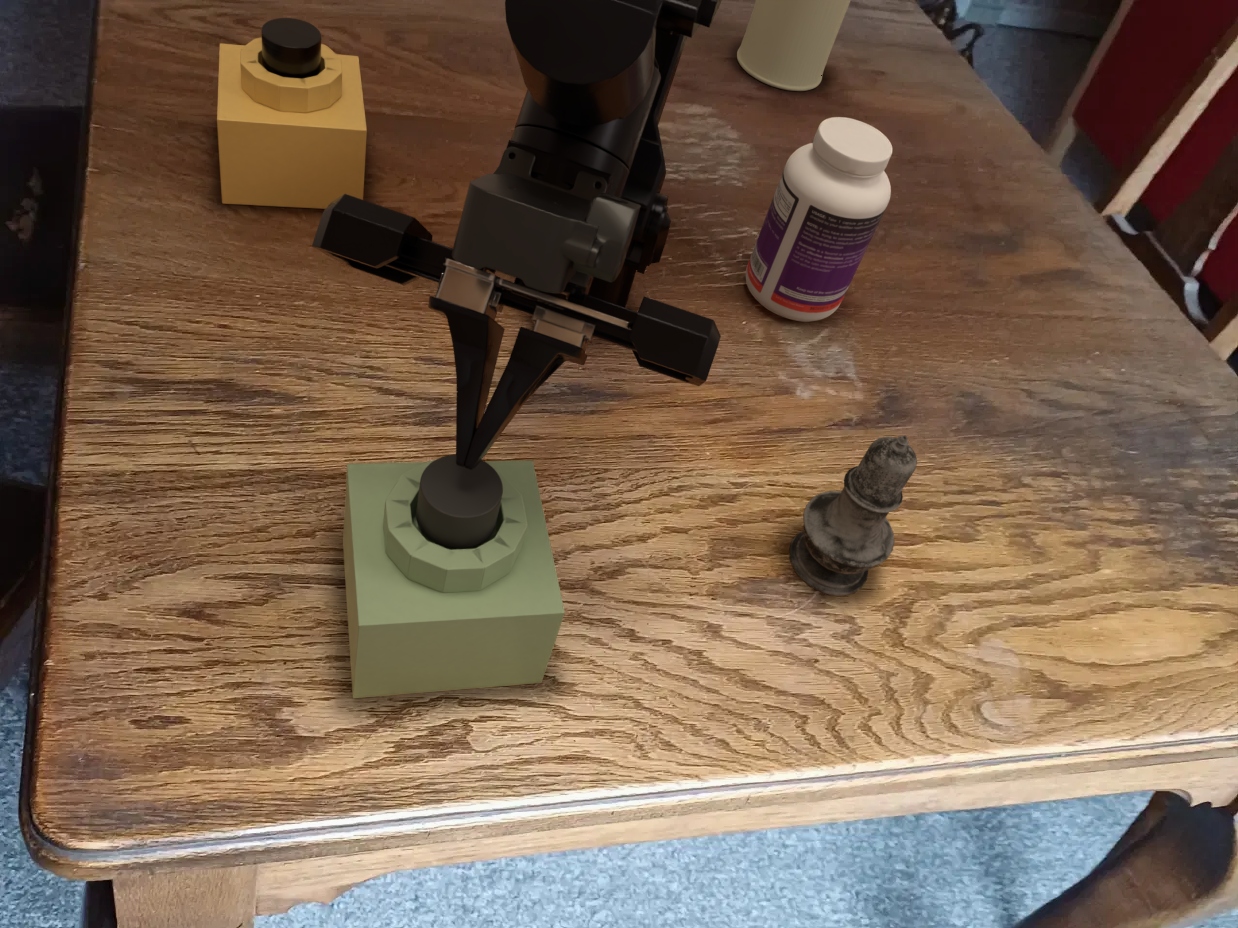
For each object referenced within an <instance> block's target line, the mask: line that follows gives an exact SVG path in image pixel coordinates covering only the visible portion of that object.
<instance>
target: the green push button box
mask: <svg viewBox="0 0 1238 928" xmlns="http://www.w3.org/2000/svg"><path fill="white" fill-rule="evenodd" d="M435 460H436V459H432V460H429V461H424V462H423V461H418V462H417V461H415V462H413V461H412V462H374V463H373V462H367V463H366V462H365V463H362V462H361V463H359V462H357V463H347V464H346V474H345V475H346V476H345V493H344V494H345V495H344V512H343V513H344V515H343V516H344V517H343V531H342V532H343V534H342V550H343V552H342V553H343V566H344V581H345V596H346V597H345V599H346V611H347V629H348V644H349V645H348V646H349V661H350V675H351V690H352V691H351V692H352V699H361V698H374V697H375V698H376V697H385V696H398V695H410V694H425V693H435V692H446V691H459V690H473V689H481V688H482V689H484V688H498V687H507V686H508V687H509V686H522V685H532V684H533V685H535V684H542V682H543V679H544V677H545V674H546V671H547V669H548V664H549V662H550V659H551V656H552V653H553V649H554V646H555V644H556V640H557V637H558V636H559V635H558V634H559V632H560V629H561V626H562V624H563V623H562V622H563V620H564V617H565V613H566V611H565V607H564V603H563V602H564V601H563V597H562V591H561V588H560V583H559V579H558V574H557V569H556V565H555V559H554V555H553V550H552V545H551V540H550V536H549V530H548V527H547V522H546V517H545V512H544V508H543V503H542V498H541V493H540V487H539V483H538V479H537V475H536V468H535V464H534V460H531V459H530V460H484V461H485V462H486V463H488V464H489V465H490V466H492V467H493V468H494V469H495V471H496V472H497V473H498V475H499V476H500V479H501V481H502V485H503V494H502V499H501V503H500V508H499V512H498V517H497V521H496V526H495V529H494V531H493V532H492V534H491V535H490V536H489V538H488V539H486V540H485V541H484V542H482V543H481V544H479V545H477V546H474V547H471V548H465V549H453V548H447V547H444V546H441V545H438V544H436V543H434V542H433V541H431V540H430V539H429V538H427V537H426V536H425V535H424V534H423V532H422V531H421V529H420V528H419V526H418V523H417V520H416V509H417V501H418V494H419V486H420V479H421V476H422V473H423V471H424V470H425V469H426V467H427V466H428V465H429V464H430V463H432V462H433V461H435Z"/></svg>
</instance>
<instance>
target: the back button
mask: <svg viewBox="0 0 1238 928" xmlns="http://www.w3.org/2000/svg"><path fill="white" fill-rule="evenodd" d="M260 31H261V37H262V64H263V67H264V68H265V69H266V70H267V71H268V72H271V73H273V74H276V75H279V76H281V77H288V78H299V79H303V78H308V77H312V76H317V75H318V74H319V73H320V70H321V44H322V33H321V31H320V29H318V28H317V27H316V26H315V25H314V24H313V23H310V22H308V21H306V20H302V19H300V18H299V19H298V18H294V17H293V18H292V17H278V18H272V19H270V20H268V21H266V22H265V23H263V25H262V27H261V30H260Z"/></svg>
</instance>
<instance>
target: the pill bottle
mask: <svg viewBox="0 0 1238 928" xmlns="http://www.w3.org/2000/svg"><path fill="white" fill-rule="evenodd" d="M892 154H893V146H892V143H891V141H890V140H889V138H888V137H887V136H886V135H885V134H884V133H882V132H881V131H880V130H879V129H877V128H876V127H874V126H873V125H870V124H868V123H866V122H863V121H861V120H858V119H855V118H851V117H844V116H843V117H842V116H833V117H828V118H826V119H824V120H822V121H821V122H820V124H819V125H818V128H817V130H816V132H815V135H814V136H813V140H812V142H809V143H807V144H804V145H802V146H800V147H798V148H797V149H795V151H794V152H793V153H792V154H791V155H790V156H789V157H788V158H787V161H786V164H785V165H784V167H783V171H782V173H781V176H780V178H779V181H778V184H777V186H776V189H775V192H774V194H773V197H772V200H771V202H770V205H769V208H768V210H767V213H766V216H765V218H764V220H763V224H762V226H761V229H760V231H759V233H758V236H757V239H756V242H755V244H754V247H753V249H752V252H751V254H750V257H749V259H748V262H747V266H746V268H745V282H746V286H747V289H748V291H749V293H750V294H751V295H752V297H753V298H754V300H756V301H757V302H758V303H759V304H760V305H761V306H762V307H764V308H765V309H766V310H768V311H769V312H771V313H773V314H775V315H777V316H779V317H781V318H784V319H787V320H791V321H797V322H803V323H808V322H809V323H811V322H817V321H821V320H824V319H826V318H828V317H830V316H831V315H832V314H834V313H835V312H836V311H837V310H838V308H839V307H840V305H841V304H842V302H843V300H844V298H845V296H846V294H847V292H848V289H849V287H850V286H851V283H852V281H853V279H854V277H855V275H856V272H857V270H858V268H859V266H860V264H861V262H862V260H863V258H864V256H865V253H866V251H867V250H868V247H869V245H870V243H871V241H872V239H873V236H874V235H875V232H876V230H877V228H878V226H879V224H880V222H881V219H882V218H883V215H884V213H885V212H886V209H887V207H888V205H889V203H890V201H891V196H892V187H891V182H890V179H889V177H888V174H887V173H886V172H885V170H886V169H887V166H888V164H889V162H890V159H891V157H892Z"/></svg>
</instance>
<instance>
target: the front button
mask: <svg viewBox="0 0 1238 928" xmlns="http://www.w3.org/2000/svg"><path fill="white" fill-rule="evenodd" d="M434 460H435V461H433V462H432V463H430V464H429V465H428V466H427V467H426V469H425V470H424V471H423V473H422V476H421V479H420V486H419V494H418V501H417V509H416V520H417V523H418V526H419V528H420V529H421V531H422V532H423V534H424V535H425V536H426V537H427V538H429V539H430V540H431V541H433V542H434V543H436V544H438V545H441V546H444V547H447V548H453V549H465V548H471V547H474V546H477V545H479V544H481V543H482V542H484V541H485V540H486V539H488V538H489V536H490V535H491V534H492V532H493V531H494V529H495V526H496V521H497V517H498V512H499V508H500V503H501V499H502V494H503V485H502V481H501V479H500V476H499V475H498V473H497V472H496V471H495V469H494V468H493V467H492V466H490V465H489V464H488V463H486V462H485V461H486V460H483V459H482V460H481V461H480V462H479V464H478V465H477V466H476V467H475V469H472V470H470V469H467V468H465V467H461V466H458V465H457V464H456V453H455V454H448V455H443V456H441V457H439V458H436V459H434Z"/></svg>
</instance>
